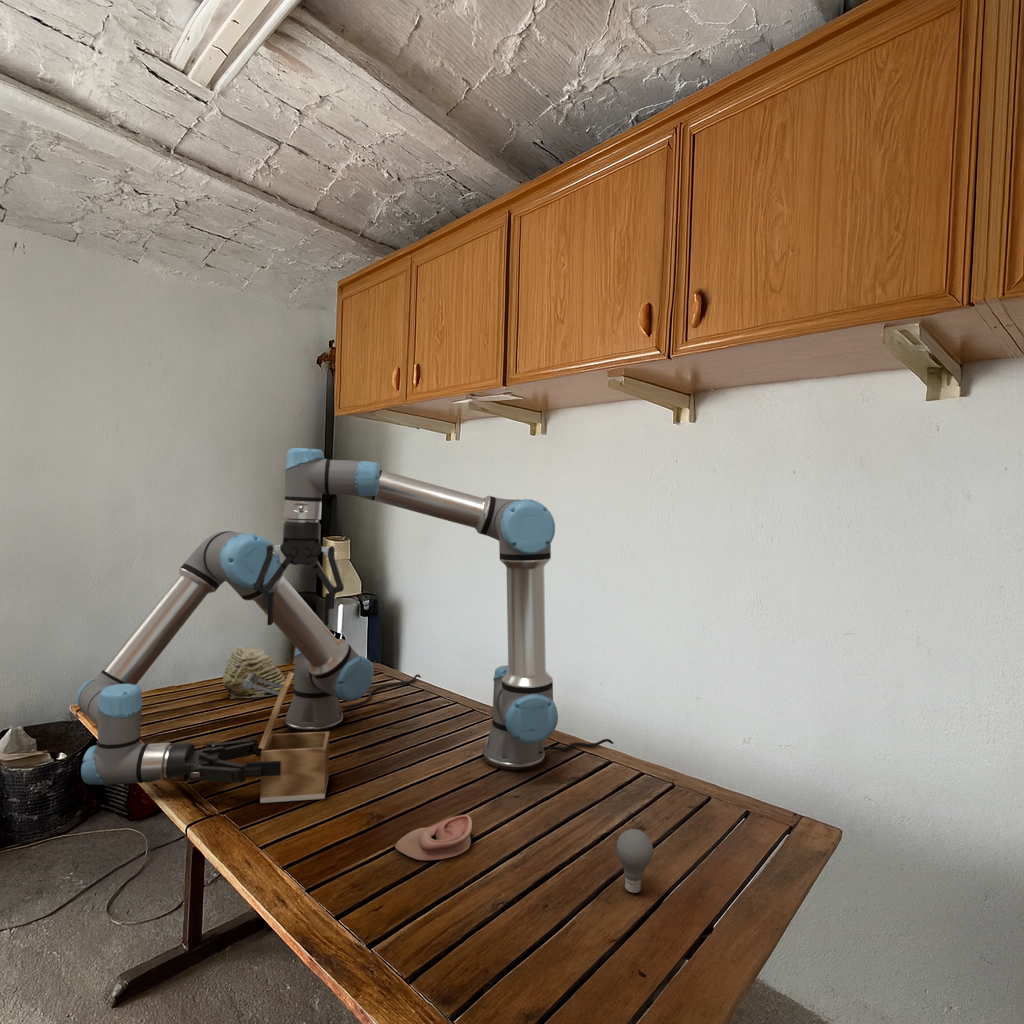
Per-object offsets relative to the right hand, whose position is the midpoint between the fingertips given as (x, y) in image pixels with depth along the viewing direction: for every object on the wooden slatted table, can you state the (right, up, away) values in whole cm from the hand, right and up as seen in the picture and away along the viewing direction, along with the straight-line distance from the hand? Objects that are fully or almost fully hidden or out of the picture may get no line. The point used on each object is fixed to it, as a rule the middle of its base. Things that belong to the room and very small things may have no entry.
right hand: (298, 624), depth 135 cm
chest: (-1, -36, +1) cm, 36 cm away
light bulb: (+66, -39, -30) cm, 82 cm away
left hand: (-3, -29, 0) cm, 29 cm away
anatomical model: (+31, -38, -18) cm, 52 cm away
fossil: (-35, -33, +63) cm, 79 cm away
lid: (-4, -18, 0) cm, 19 cm away
